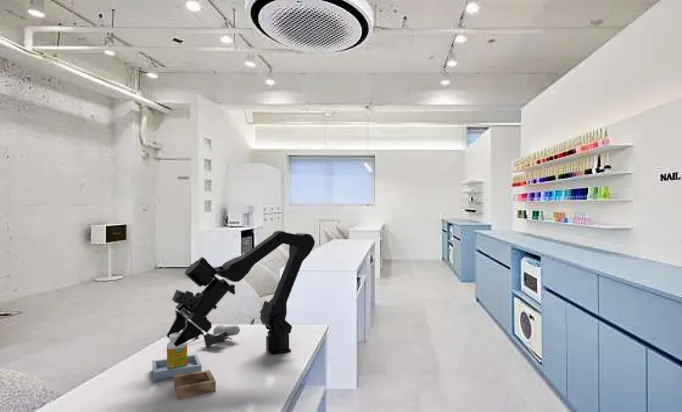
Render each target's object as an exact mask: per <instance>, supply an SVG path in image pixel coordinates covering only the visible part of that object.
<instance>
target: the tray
mask: <svg viewBox="0 0 682 412" xmlns="http://www.w3.org/2000/svg"><path fill="white" fill-rule="evenodd" d="M202 367H203V366H202V362H201V361H200V358H199V356H198V354H190V355H187V367H181V368H175V369H169V370H167V358H166V359H165V358H164V359H158V360H152V377H153V383H159V382H160V383H161V382H164V381H165V382H166V381H170V380H174V376H175V375H181V374H187V373H193V372H199V371H203V369H202Z"/></svg>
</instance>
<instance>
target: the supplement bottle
mask: <svg viewBox="0 0 682 412" xmlns="http://www.w3.org/2000/svg"><path fill="white" fill-rule="evenodd" d="M181 332H182V331H180V332H178V333H172V334H170V335H169V338H168V339H169V342H167V344H166V359H167V370H169V369H175V368H181V367H187V356H188V341H187V342H185V343H183V344H181V345H179V346H177V347H176V346H175V345H174V342H175V341H176V339H177V338H178V336H179V335H180V333H181Z"/></svg>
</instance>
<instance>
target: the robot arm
mask: <svg viewBox="0 0 682 412" xmlns="http://www.w3.org/2000/svg"><path fill="white" fill-rule="evenodd" d="M315 243H316V241H315V238H314V237H313V235H311V234H309V233H305V232H304V233H303V232H296V233H290V232H286V231H285V230H275V231H273V233H272V234H271V235H269V236H268V237H267V238H265V239H264V240H263V241H261V242H259V243H258V244H257V245H255V246H254V247H253V248H251V249H250V250H249V251H247V252H246V253H244V254H241V255H239V256H236V257H234V258H231V259H230V260H227V261H226V262H224V263H223V264H222V265H219V266H213V265H211V264H210V263H209V262H208V260H207V259H206V258H204V256H203V257H202V256H201V257H200V258H198V259H197V260H196V261H194V262H193V263H191V264H190V265H189V266H188V267H187V268H186V269H185V271H184V275H185V276H186V277H187V278H188V279H190V280H191V282H193V283H194V284H195V285H196V286H198V287H200V288H201V287H203V286H204V287H205V288H204V289H202V291H201V292H199V291H198V292H196V293H195V294H194V292H192V291H189V290H186V291H182V290H179V289H176V290H175V292H174V294H173V297H172V299H171V301H173V302H174V303H176V304H177V305H176V306H175V310H174V312H175V318H174V321H173V323H172V324H171V327H170V329H169V331H168V332H167V334H166V338H168V339H169V335H170V334H172V333H178V332H181V333H180V335H179V336H178V338H177V339H176V341H175V342H174V345H175V346H176V347H177V346H179V345H181V344H183V343H185V342H187V343H188V341H190V340H193V339H194V338H195V337H197V336H199V337H200V336H202V335H201V334H204V335H205V334H207V333H209V331H210V330H211V329H212V322H211V321H210V320H209V319H208V317H207V316H208V315H209V314H210V313H211V311H212V310H216V309H218V306H217V305H218V303H219V302H220V301H221V300H222V299H223V298H224V297H225V295H226V294H227V293H229V294H231V295H236V289H235V288H236V285H235V284H233V283H239V282H240V281H242V280H243V279H244V278H245V277H246V276H247V275H248V274H249V273H250V271H251V270H252V268H253V267H254V266H255V265H256V264H257V263H258V262H260V261H261V260H262V259H264V258H265V257H266V256H268V255H269V254H271V253H272V252H273V251H274V250H276V249H277V248H278V247H280V246H281V245H288V258H287V262H286V264H285V266H284V268H283V271H282V274H281V276H280V279H279V281H278V283H277V286H276V289H275V291H274V294H273V296H272V298H271V299H270V300H269V301H267V300H264V301H263V305H262V308H261V310H259V314H260V315H259V320H260V322H261V323H262V324H263V325H264V327H265V330H267V335H266V336H265V343H266V344H265V349H266V351H267V352H268V353H270V355H277V354H283V353H284V354H285V353H289V352H292V349H291V348H290V334H291V332H292V329H293V326H292V324H290V323H289V322H288V321H287V320H286V318H287V313H288V309H287V308H288V307H287V303H288V300H289V298H290V295H291V292H292V289H293V287H294V284H295V282H296V281H297V280H296V279H297V278H298V277H297V276H298V275H299V272H300V269H301V267H302V264H303V262H304V260H305V259H306V258H307V257H309V256H310V254H311V252H312V251H313V249H314V247H315ZM218 277H221V278H222V279H219V278H218ZM226 280H228V281H230V282H233V283H231V284H230V283H229V282H228V281H226Z"/></svg>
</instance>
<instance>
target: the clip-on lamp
mask: <svg viewBox="0 0 682 412" xmlns="http://www.w3.org/2000/svg"><path fill="white" fill-rule="evenodd" d="M240 333H241V328H240V326H239V325H238V324H233V325H228V326H227V325H224V324H218V325H216V326H215V327H214V328H213V330H212V333H209V332H207V333H204V334H201V335H199V336H197V337H195V338H193V339H192V340H193V341H196V340H198V339H199V338H200V336H202V337H203V340H204V345H205V348H208V347H209V348H211V346H210V345H212V346H213V345H217V344H222V343H225V341H226V340H228V339H229V340H231V341H232V339H233V338H232V337H233V336H237V335H239V334H240Z"/></svg>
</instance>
